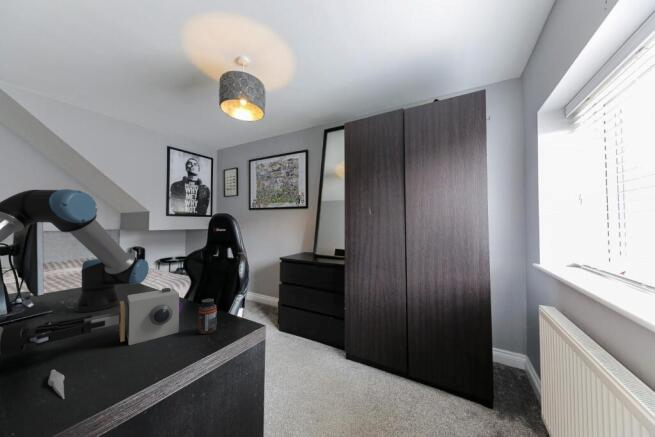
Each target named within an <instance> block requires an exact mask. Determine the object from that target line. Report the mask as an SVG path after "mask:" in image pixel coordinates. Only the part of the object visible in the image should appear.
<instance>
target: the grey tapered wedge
mask: <svg viewBox="0 0 655 437" xmlns="http://www.w3.org/2000/svg"><path fill="white" fill-rule="evenodd" d="M64 381H65V375H64V374H62V373H61V372H58V371H57V370H56V369H51V371H50V375H49V377H48V380H47V385H48V386H50V387H52V389H53V390H54V392H55V393H56V394H57V395H58V396H60V398H62V400H65V398H66V397H65V389H64V388H65V385H64V384H65V383H64Z"/></svg>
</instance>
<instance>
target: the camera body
mask: <svg viewBox="0 0 655 437" xmlns="http://www.w3.org/2000/svg"><path fill="white" fill-rule="evenodd" d="M126 299H127V302H126V337H127V344H128V346H132V345H135V344H140V343H144V342H147V341H151V340H155V339H158V338H162V337H163V338H164V337H166V336H169V335H173V334H178V333H179V329H180V312H179V301H180V292H178V291H177V290H176V289H175V288H174V287H172V288H170V287H165V288H161V289H160V290H153V291H152V290H151V291H146V292H141V293H140V292H139V293H134V294H128V295H127V298H126Z"/></svg>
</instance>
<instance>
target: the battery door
mask: <svg viewBox="0 0 655 437" xmlns="http://www.w3.org/2000/svg"><path fill="white" fill-rule="evenodd" d="M116 315H119V324H118V325H119V340H120V343H122V342H125V341H126V339H125V338H126V337H125V336H126V332H125V331H126V304H125V301H124V300H119V313H118V312H114V314H113V313H109V315H108V314H103V316H102V315H99V316H98V317H97V316H92V317H93V318H87V319H84V323H86V322H91V321H92V320H96V319H101V318H106V317H111V316H116Z"/></svg>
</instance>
